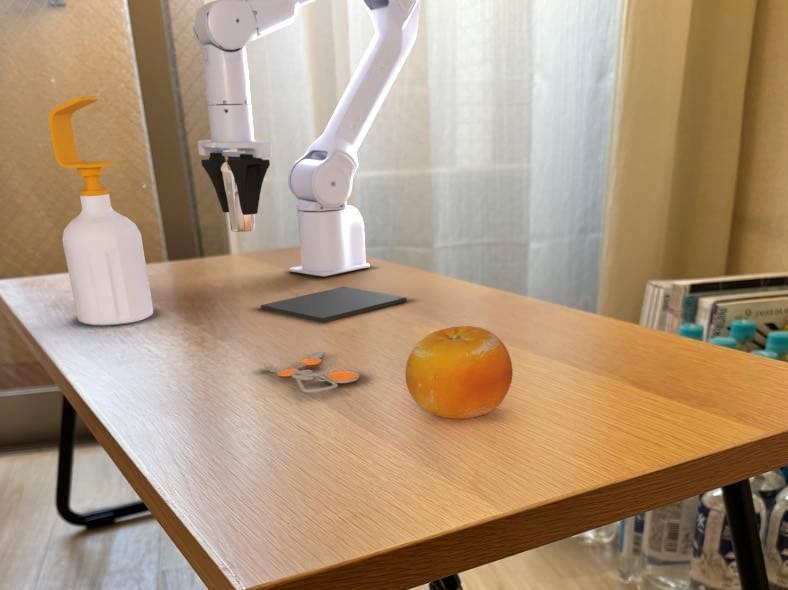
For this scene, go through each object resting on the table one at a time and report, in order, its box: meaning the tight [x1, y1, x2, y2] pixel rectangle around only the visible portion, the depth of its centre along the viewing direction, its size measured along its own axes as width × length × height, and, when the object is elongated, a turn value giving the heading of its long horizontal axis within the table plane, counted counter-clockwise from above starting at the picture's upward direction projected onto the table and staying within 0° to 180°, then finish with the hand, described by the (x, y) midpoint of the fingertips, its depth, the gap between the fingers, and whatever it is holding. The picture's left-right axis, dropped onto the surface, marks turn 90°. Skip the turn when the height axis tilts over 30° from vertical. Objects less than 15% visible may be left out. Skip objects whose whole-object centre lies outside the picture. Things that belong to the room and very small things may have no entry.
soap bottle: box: [48, 95, 154, 327], centre depth 105 cm, size 9×9×25 cm
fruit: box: [405, 325, 513, 420], centre depth 73 cm, size 8×8×8 cm
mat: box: [260, 286, 408, 323], centre depth 113 cm, size 14×12×1 cm
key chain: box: [265, 351, 360, 393], centre depth 85 cm, size 13×7×1 cm, turn 24°
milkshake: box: [221, 155, 255, 233], centre depth 124 cm, size 4×5×10 cm
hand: (239, 212), depth 125 cm, fingers closed on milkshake, 4 cm apart
